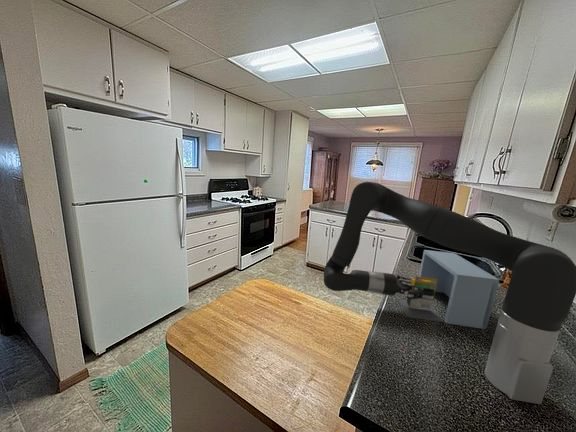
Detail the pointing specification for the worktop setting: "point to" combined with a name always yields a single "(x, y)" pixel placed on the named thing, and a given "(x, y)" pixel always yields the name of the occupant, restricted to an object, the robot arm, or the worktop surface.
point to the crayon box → (425, 300)
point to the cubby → (461, 287)
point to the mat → (419, 312)
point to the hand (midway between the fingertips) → (431, 290)
